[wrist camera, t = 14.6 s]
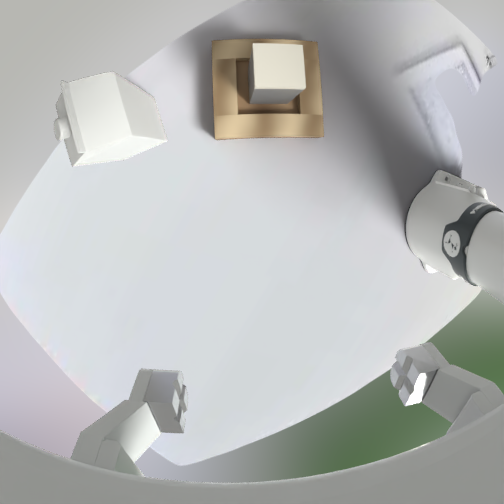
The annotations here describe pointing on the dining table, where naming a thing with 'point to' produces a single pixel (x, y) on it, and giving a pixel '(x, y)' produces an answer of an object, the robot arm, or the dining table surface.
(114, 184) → the dining table surface
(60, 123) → the milk carton
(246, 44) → the square wooden tray
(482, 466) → the robot arm
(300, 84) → the plain greyish beige box
